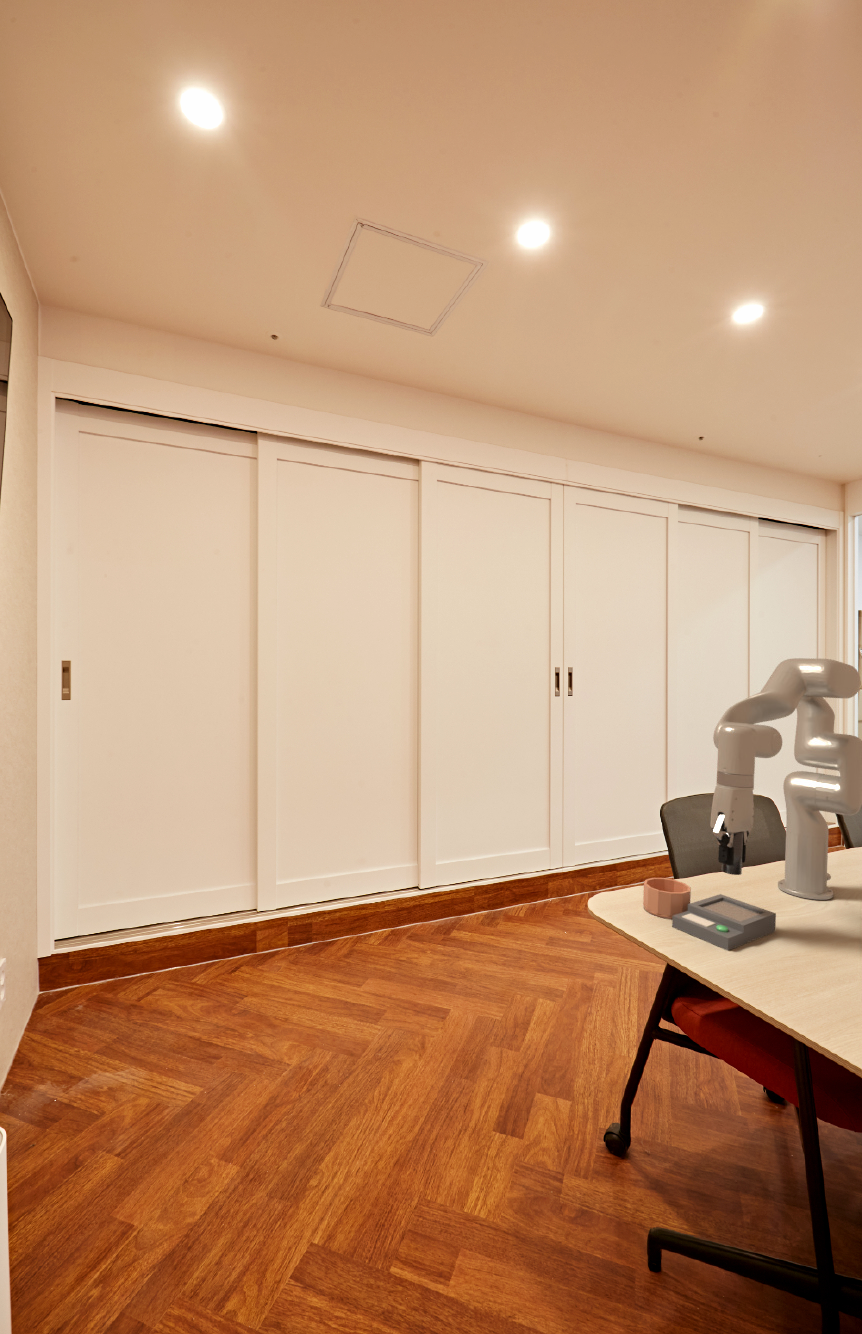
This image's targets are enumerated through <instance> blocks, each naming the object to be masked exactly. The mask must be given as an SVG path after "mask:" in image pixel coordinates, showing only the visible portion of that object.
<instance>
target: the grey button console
mask: <svg viewBox="0 0 862 1334" xmlns="http://www.w3.org/2000/svg"><path fill="white" fill-rule="evenodd" d="M723 900H724V901H727V902H729V903H732V904H735V905H738V906H741V907H744V908H746V909H749V910H752V911H755V912H758V913H760V914H759V915H757V916H754V917H751V918H749V919H746V920H743V921H738V920H735V919H733V918H730V917H727V916H725V915H722V914H719V913H717V912H714V911H711V910H709V909H706V908H703V907H704V906H707V905H711V904H714V903H717V902H720V901H723ZM776 917H777V913H776V912H773V911H771V910H767V909H764V908H762V907H759V906H756V905H753V904H750V903H748V902H744V901H742V900H738V899H737V898H732V897H730V896H727V895H724V894H721V893H720V894H717V895H713V896H709V897H707V898H704V899H701V900H698V901H694V902H692V903H691V902H690V904H688V911H686V912H683V913H680V914H676V915H673V919H671V920H672V921H671V922H672V923H671V925H672V926H671V927H672V928H674V929H676V930H677V931H681V932H684V933H685V934H688V935H690V936H692V937H696V938H698V939H700V940H702V941H704V942H706V943H707V942H708V943H709V944H712V945H714V946H716V947H718V948H721V949H724V950H725V951H731V950H733V949H735V948H738V947H740V946H742V945H745V944H748V943H750V942H753V941H755V940H757V939H760V938H763V937H765V936H768V935H770V934H772V933H775V932H776V921H777V920H776Z"/></svg>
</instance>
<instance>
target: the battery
mask: <svg viewBox="0 0 862 1334" xmlns="http://www.w3.org/2000/svg"><path fill="white" fill-rule="evenodd" d="M726 830H727V829H725V828H724V831H726ZM726 832H727V831H726ZM724 835H725V836H726V837H727V839H728V835H726V834H724ZM732 847H734V861H733V865H731V866H730V865H727V864H723V863H721V872H723V873H724V874H728V875H734V876H741V875H742V873H743V872H742V870H743V863H742V850H743V832H739V833H734V837H733V844H732Z"/></svg>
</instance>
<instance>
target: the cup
mask: <svg viewBox="0 0 862 1334" xmlns="http://www.w3.org/2000/svg"><path fill="white" fill-rule="evenodd" d="M691 891H692V888H691V887H690V886H689V885H688V884H687V883H684V882H682V881H679V880H677V879H670V878H665V877H650V878H647V879H645V880H644V883H643V898H642V899H643V901H642V904H643V909H644V911H645V912H647V913H649V914H650V915H652V916H655V917H657V918H662V919H666V920H672V919H673V915H676V914H680V913H683V912H686V911H688V904H690V903H691V897H692V896H691V895H692V893H691Z"/></svg>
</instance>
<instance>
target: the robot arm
mask: <svg viewBox="0 0 862 1334" xmlns="http://www.w3.org/2000/svg"><path fill="white" fill-rule="evenodd" d="M858 671H859V670H857V669H856V668H855V666H853V665H850V664H848V663H845V662H842V661H840V660H839V661H838V660H834V659H829V658H794V657H793V658H787V659H785V660H783V661H780V662H779V664H777V665H776V667H775V669H774V670H773V671H772V673H771V675H770V677H769V678H768V680H766V682H765V684H764V686H763V687H762V688H761V690H760V692H758V693H756V694H752V695H750V696H748V697H747V698H744V699H743V700H741V701H738V702H736V703H734V704H733V705H732V706H730V707H729V708H728V709H726V711H725V712H724V713H723V715H722V716H721V718H720V719H719V720H718V723H717V724H716V726H715V728H714V732H713V737H712V738H713V740H712V741H713V744H714V746H715V747H716V749H717V764H716V765H717V766H716V768H717V770H716V786H715V787H714V791H713V797H712V805H711V810H710V813H711V814H710V828H711V830H713V831H712V835H713V836H714V837H715V838H716V839H717V845H718V860H717V861H718V863H721V864H722V863H723V864H727V865H730V866H731V865H733V861H734V847H732V844H733V837H734V833H739V832H743V850H742V864H743V863H745V862H746V850H747V844H748V837H749V835H750V833H751V832H752V830H753V827H754V820H755V819H754V818H755V817H754V816H755V804H754V791H753V790H754V789H755V767H756V758H759V759H770V758H773V757H775V756H777V755H778V754H779V753H780V751H781V749H782V747H783V738H782V735H781V733H780V732H779V730H778V729H776V728H775V727H773V726H769V725H765V724H764V725H763V724H759V723H765V722H771V721H775V720H780V719H784V718H788V716H791V715H792V714H793V713H794V712H795V711H796V729H795V737H794V747H793V750H794V751H793V755H794V759H795V761H796V762H797V763H798V764H800V765H803V766H805V767H811V768H815V769H816V768H818V769H823V770H829V771H830V770H831V771H837V772H839V775H832V774H825V773H821V772H813V771H807V770H806V771H804V770H797V771H792V772H790V773H789V774H787V775H786V776H785V778H784V781H783V785H782V786H783V795H784V801H785V802H784V803H785V808H786V810H785V813H786V825H785V826H786V829H785V855H784V859H785V861H784V879H780V880H778V882H777V888H779V889H780V890H781V891H783V892H784V893H787V894H789V895H792V896H795V897H799V898H801V899H802V898H803V899H809V900H817V901H819V900H820V901H821V900H824V901H827V900H830V899H833V897H834V891H833V890H832V889H831V888H829V887H828V886H827V885H828V884H827V883H828V881H829V880H831V879H832V876H831V874H830V873H828V861H829V860H828V857H829V855H828V854H829V826H828V823H827V821H826V819H825V817H824V816H823V814H822V813H821V812H827V813H831V814H838V815H842V816H854V815H857V814H858V813H859V812H860V810H861V809H862V739H861V738H860V737H857V736H855V735H853V734H847V733H846V734H844V733H835V719H836V715H835V712H834V710H833V708H832V707H831V706H830V704H829V703H828V701H827V700H826V699H828V698H829V699H831V698H833V699H851V698H853V697H855V696H856V694H858V693H859V691H860V688H861V681H862V680H861V676H860V673H859V672H858ZM824 698H826V699H824ZM724 829H727V830H726V831H727V832H726V831H724ZM724 834H726V835H728V839H727V837H726V836H725V835H724Z"/></svg>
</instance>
